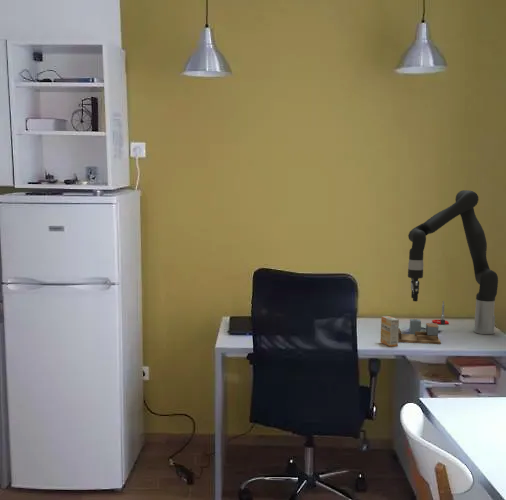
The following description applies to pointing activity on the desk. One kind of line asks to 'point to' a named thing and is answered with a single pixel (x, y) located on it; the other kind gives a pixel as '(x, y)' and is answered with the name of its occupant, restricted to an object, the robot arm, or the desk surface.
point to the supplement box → (389, 331)
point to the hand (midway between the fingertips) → (414, 299)
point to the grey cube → (431, 329)
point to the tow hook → (441, 317)
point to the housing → (415, 326)
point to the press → (417, 338)
